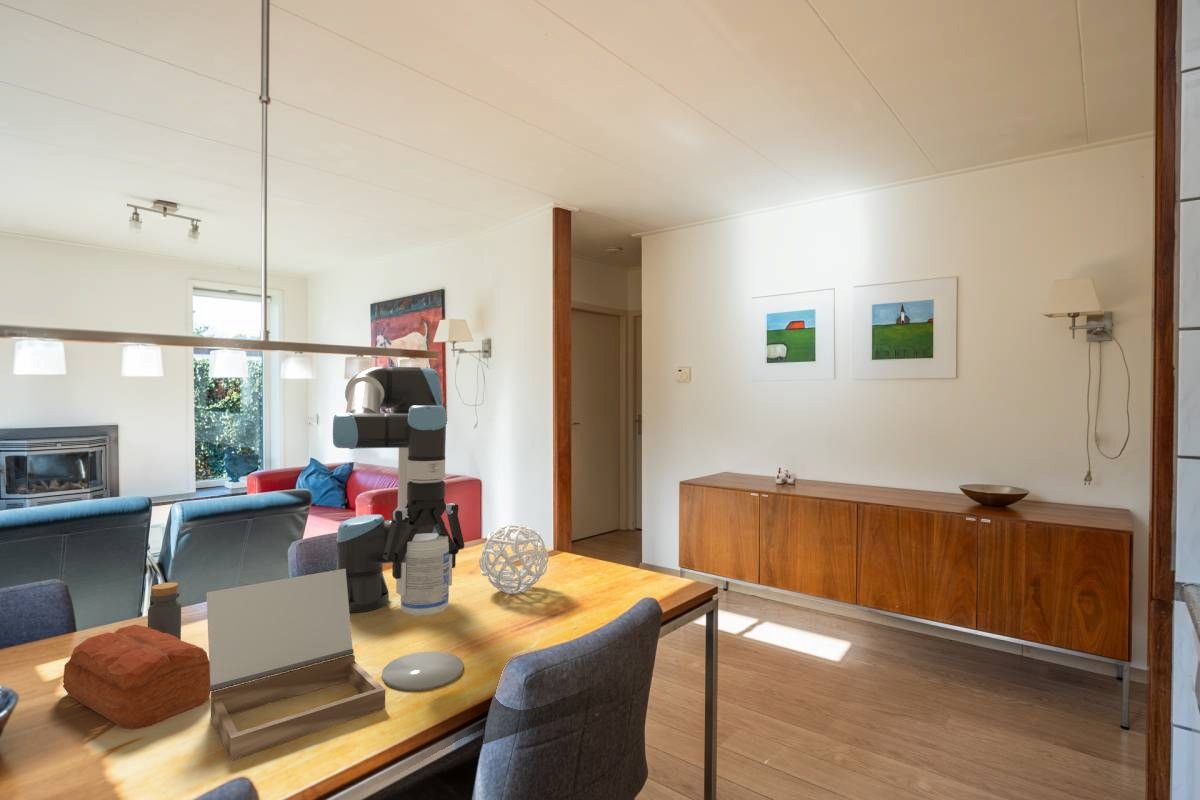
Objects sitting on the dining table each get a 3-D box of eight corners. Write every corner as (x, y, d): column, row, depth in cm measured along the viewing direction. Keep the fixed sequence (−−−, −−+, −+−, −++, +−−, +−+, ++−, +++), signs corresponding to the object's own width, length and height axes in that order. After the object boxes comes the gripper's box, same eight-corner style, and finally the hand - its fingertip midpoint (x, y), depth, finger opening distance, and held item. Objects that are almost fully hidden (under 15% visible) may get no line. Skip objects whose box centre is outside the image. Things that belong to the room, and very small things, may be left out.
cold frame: (210, 717, 106) (210, 692, 106) (352, 676, 122) (352, 654, 122) (230, 760, 94) (230, 731, 94) (385, 708, 110) (385, 683, 110)
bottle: (144, 662, 127) (145, 591, 126) (150, 651, 132) (151, 583, 132) (178, 657, 129) (179, 587, 129) (182, 647, 134) (183, 580, 134)
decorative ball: (560, 595, 174) (561, 529, 174) (496, 608, 163) (497, 537, 162) (528, 577, 190) (529, 516, 190) (468, 588, 179) (469, 523, 179)
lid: (211, 691, 105) (209, 690, 107) (353, 653, 122) (349, 653, 123) (207, 592, 109) (205, 592, 111) (346, 568, 125) (342, 569, 127)
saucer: (369, 669, 125) (369, 665, 125) (440, 649, 136) (440, 645, 136) (402, 699, 113) (402, 695, 113) (477, 674, 124) (477, 670, 124)
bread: (124, 738, 100) (125, 674, 99) (55, 696, 113) (55, 639, 113) (222, 698, 113) (223, 641, 113) (150, 664, 126) (150, 614, 126)
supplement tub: (454, 611, 123) (456, 539, 123) (407, 620, 118) (409, 545, 118) (439, 598, 131) (440, 530, 131) (394, 606, 126) (395, 535, 126)
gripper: (380, 486, 114) (378, 605, 114) (482, 478, 129) (481, 582, 129) (365, 482, 120) (363, 595, 120) (465, 474, 135) (463, 574, 135)
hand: (424, 588), depth 124 cm, fingers closed on supplement tub, 9 cm apart
